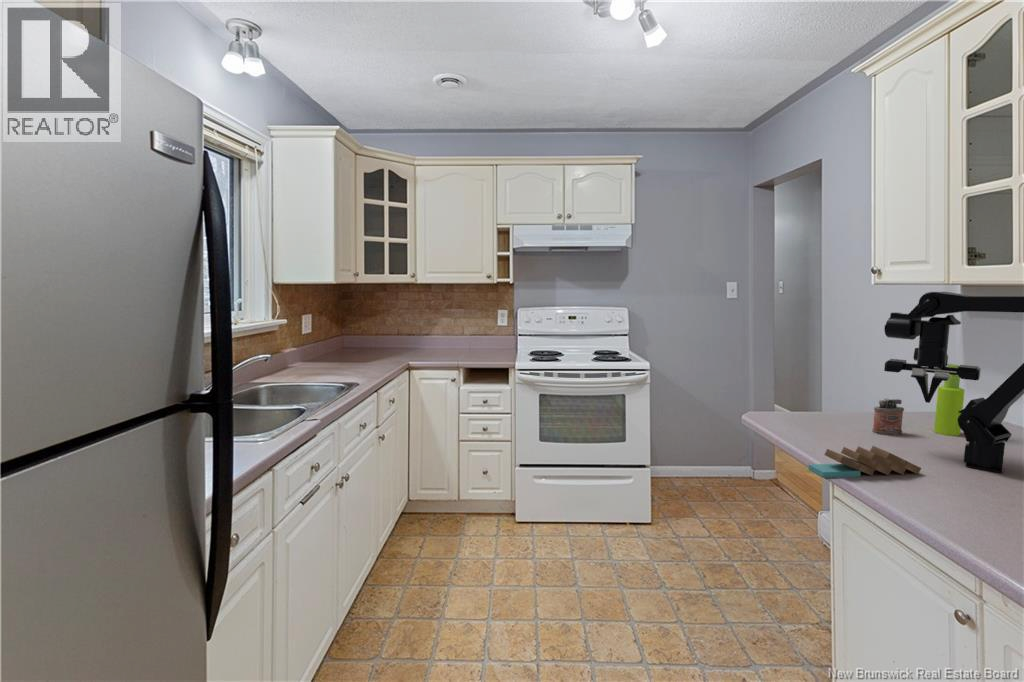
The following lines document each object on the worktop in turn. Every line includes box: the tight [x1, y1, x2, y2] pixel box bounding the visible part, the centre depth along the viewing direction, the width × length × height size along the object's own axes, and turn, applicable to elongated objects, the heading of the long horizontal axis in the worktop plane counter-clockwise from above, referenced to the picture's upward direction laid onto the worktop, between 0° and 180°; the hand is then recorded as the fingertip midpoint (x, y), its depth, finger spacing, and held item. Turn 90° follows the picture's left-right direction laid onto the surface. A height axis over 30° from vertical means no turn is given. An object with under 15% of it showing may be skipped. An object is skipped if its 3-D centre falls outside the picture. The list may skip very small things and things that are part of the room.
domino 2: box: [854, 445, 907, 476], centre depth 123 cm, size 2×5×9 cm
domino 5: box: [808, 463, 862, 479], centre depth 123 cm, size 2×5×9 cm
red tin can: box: [871, 397, 905, 435], centre depth 154 cm, size 8×3×10 cm, turn 92°
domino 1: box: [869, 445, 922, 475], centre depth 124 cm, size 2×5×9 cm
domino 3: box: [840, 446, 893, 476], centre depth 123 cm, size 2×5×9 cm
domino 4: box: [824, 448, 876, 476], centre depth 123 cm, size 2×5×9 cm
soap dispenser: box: [933, 363, 965, 437], centre depth 154 cm, size 6×7×20 cm
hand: (927, 402), depth 136 cm, fingers closed
